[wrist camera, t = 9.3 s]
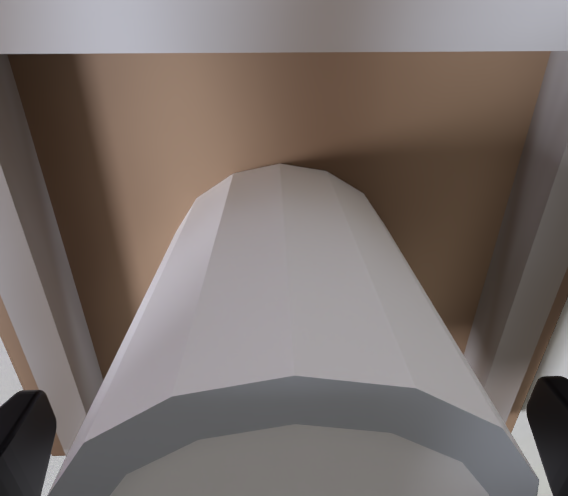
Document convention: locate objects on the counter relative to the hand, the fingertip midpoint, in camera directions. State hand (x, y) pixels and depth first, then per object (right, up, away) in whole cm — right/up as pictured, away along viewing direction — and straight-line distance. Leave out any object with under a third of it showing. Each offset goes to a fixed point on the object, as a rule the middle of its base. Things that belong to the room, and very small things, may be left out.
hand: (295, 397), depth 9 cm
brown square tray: (0, +3, +5) cm, 6 cm away
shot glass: (0, +2, +4) cm, 5 cm away
